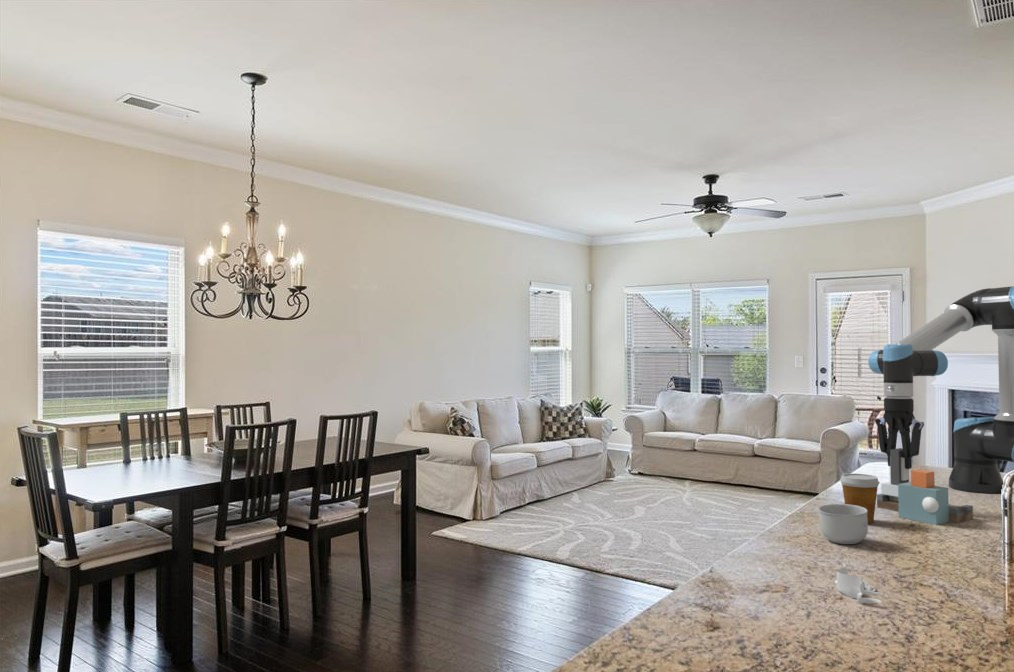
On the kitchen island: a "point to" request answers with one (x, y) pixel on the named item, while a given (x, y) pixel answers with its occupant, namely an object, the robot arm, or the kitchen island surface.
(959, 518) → the rail board
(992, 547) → the kitchen island surface
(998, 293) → the robot arm
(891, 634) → the kitchen island surface
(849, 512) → the light gray bowl
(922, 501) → the cabinet
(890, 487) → the carriage
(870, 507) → the disposable coffee cup
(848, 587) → the white figurine
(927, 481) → the button
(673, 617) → the kitchen island surface
